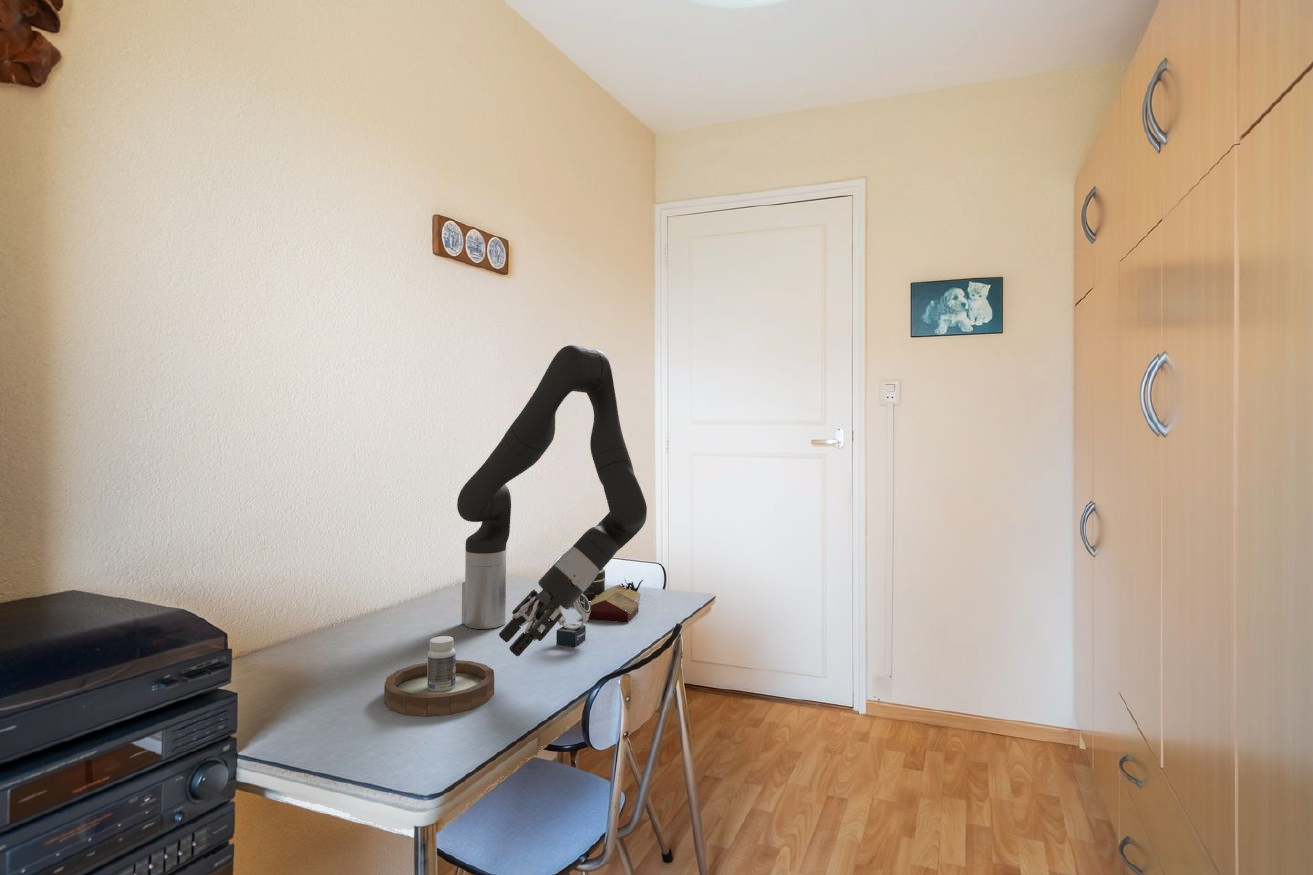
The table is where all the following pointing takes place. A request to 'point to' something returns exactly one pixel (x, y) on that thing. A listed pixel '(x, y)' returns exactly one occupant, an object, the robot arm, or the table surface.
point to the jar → (596, 586)
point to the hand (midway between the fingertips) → (507, 645)
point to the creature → (631, 586)
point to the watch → (574, 625)
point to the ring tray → (414, 697)
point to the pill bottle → (441, 664)
